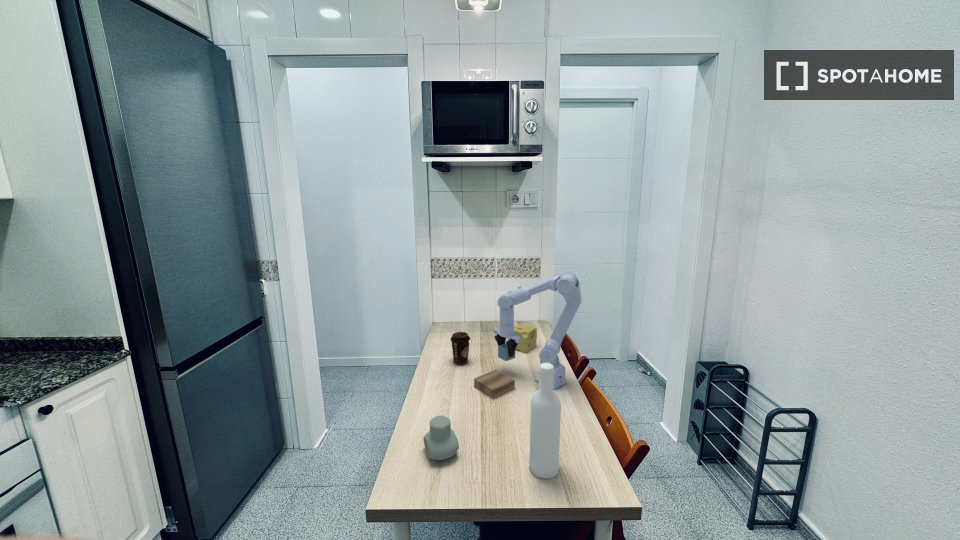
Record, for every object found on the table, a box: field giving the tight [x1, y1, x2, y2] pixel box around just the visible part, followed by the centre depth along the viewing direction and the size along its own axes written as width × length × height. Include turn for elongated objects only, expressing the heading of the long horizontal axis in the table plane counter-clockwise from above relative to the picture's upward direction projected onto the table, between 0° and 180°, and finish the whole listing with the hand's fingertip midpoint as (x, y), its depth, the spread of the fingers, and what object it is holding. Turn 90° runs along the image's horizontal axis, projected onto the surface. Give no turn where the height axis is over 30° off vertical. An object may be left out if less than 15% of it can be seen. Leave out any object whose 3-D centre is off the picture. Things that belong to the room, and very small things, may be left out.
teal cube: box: [497, 342, 516, 362], centre depth 149 cm, size 5×5×5 cm
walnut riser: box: [473, 369, 516, 400], centre depth 138 cm, size 11×11×4 cm
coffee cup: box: [450, 331, 471, 366], centre depth 159 cm, size 9×8×13 cm
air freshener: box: [423, 415, 460, 461], centre depth 103 cm, size 11×8×10 cm
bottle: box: [528, 363, 562, 480], centre depth 95 cm, size 8×8×30 cm
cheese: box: [507, 323, 538, 354], centre depth 175 cm, size 10×11×10 cm
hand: (506, 353), depth 149 cm, fingers closed on teal cube, 5 cm apart
